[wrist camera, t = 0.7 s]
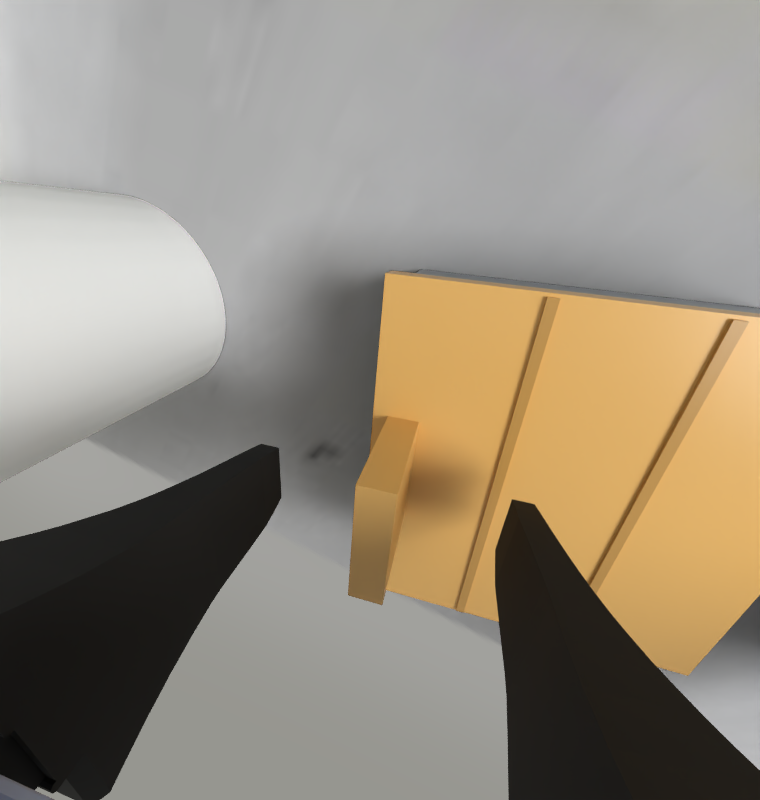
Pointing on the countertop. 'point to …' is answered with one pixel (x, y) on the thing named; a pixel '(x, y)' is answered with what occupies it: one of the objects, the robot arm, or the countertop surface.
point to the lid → (565, 452)
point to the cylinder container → (94, 315)
